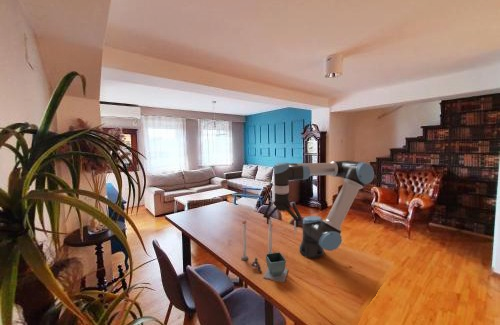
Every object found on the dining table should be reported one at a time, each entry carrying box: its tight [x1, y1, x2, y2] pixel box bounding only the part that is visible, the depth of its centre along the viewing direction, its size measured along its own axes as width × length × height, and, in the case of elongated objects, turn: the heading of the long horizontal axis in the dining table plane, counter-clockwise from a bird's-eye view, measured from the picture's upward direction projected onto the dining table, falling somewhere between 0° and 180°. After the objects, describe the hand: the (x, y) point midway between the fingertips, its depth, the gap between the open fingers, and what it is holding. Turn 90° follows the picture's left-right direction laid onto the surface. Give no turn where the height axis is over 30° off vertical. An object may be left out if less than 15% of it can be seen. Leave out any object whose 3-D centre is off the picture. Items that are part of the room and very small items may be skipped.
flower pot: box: [265, 251, 287, 276], centre depth 115 cm, size 9×9×9 cm
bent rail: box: [250, 257, 262, 272], centre depth 123 cm, size 8×5×3 cm, turn 160°
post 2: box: [267, 223, 274, 254], centre depth 124 cm, size 4×4×24 cm
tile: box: [263, 267, 289, 283], centre depth 116 cm, size 11×11×1 cm
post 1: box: [240, 219, 249, 261], centre depth 130 cm, size 4×4×24 cm
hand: (282, 231), depth 115 cm, fingers open, 13 cm apart
